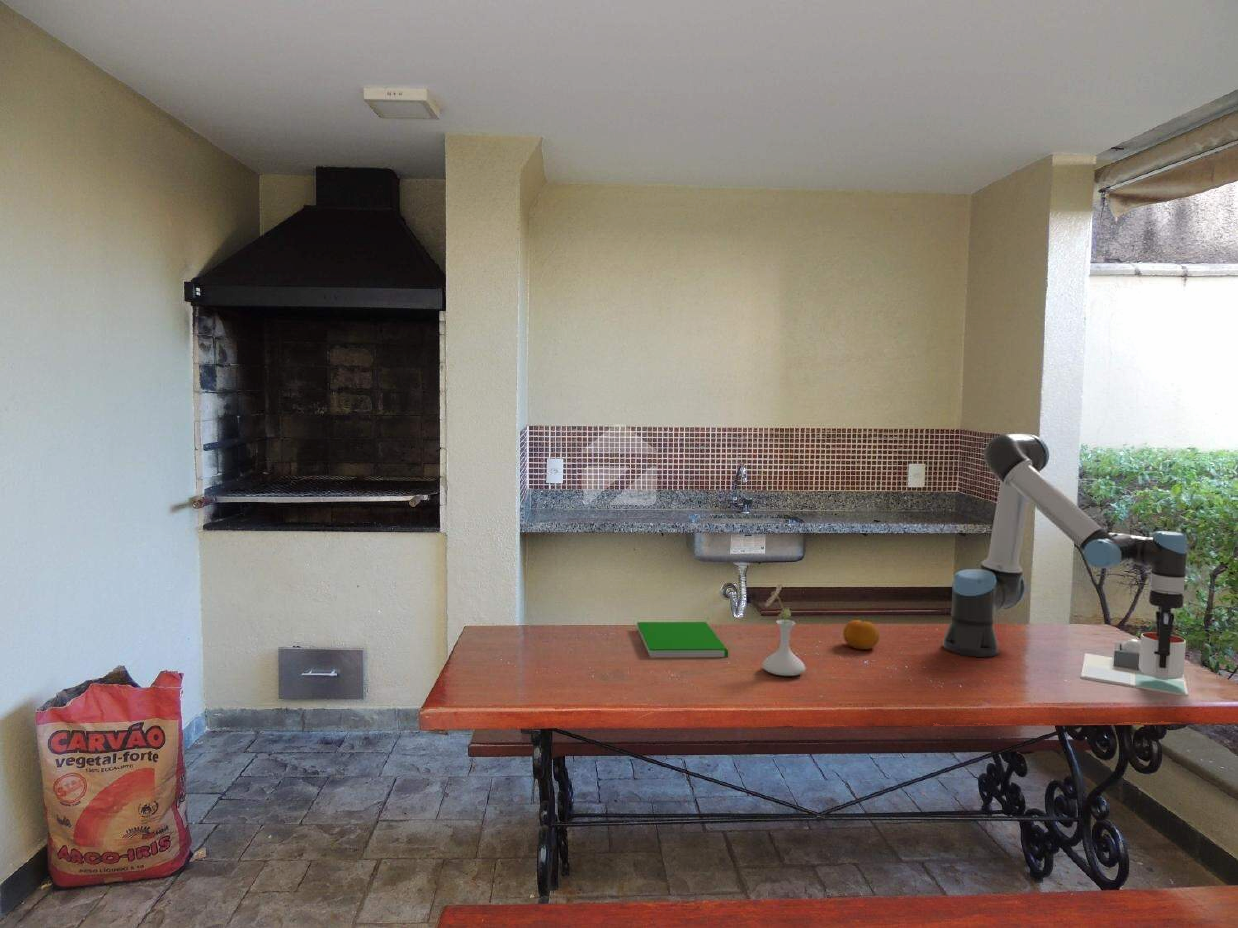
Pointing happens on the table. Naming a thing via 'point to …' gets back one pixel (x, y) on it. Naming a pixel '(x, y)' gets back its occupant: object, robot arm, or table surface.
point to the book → (680, 639)
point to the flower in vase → (783, 645)
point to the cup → (1149, 658)
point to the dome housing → (1125, 658)
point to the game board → (1128, 676)
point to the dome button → (1131, 646)
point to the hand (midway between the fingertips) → (1160, 673)
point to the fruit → (861, 634)
